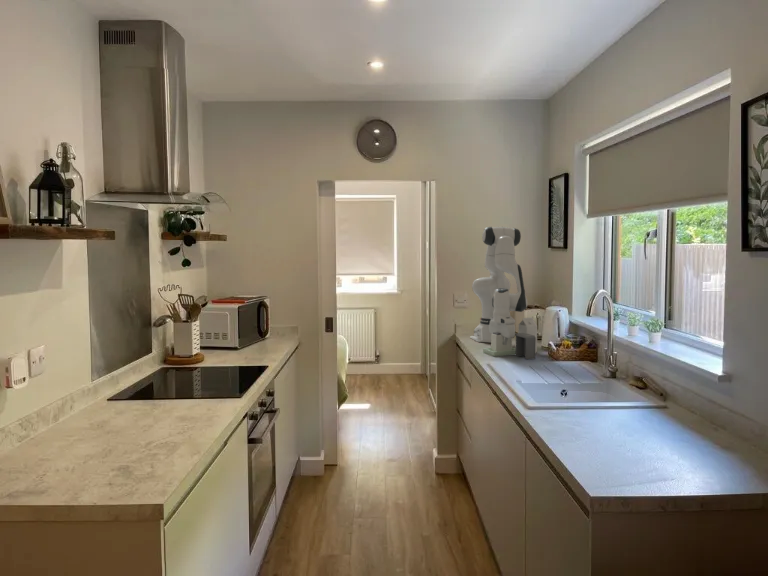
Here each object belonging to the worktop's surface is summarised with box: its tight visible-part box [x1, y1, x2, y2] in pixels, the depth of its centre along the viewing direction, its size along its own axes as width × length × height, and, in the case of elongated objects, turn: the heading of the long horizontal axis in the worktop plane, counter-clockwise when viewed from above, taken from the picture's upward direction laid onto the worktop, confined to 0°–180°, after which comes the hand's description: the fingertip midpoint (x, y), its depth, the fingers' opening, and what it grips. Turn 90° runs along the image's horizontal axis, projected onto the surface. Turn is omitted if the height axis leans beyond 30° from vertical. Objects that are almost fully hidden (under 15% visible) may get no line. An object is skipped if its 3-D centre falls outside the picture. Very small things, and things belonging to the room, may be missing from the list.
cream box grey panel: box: [490, 332, 513, 352], centre depth 298 cm, size 5×10×10 cm, turn 111°
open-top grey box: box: [515, 332, 536, 360], centre depth 288 cm, size 10×6×12 cm, turn 21°
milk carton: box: [517, 316, 538, 353], centre depth 301 cm, size 7×7×19 cm
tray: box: [482, 347, 516, 357], centre depth 299 cm, size 11×16×2 cm
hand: (501, 343), depth 298 cm, fingers closed on cream box grey panel, 5 cm apart
